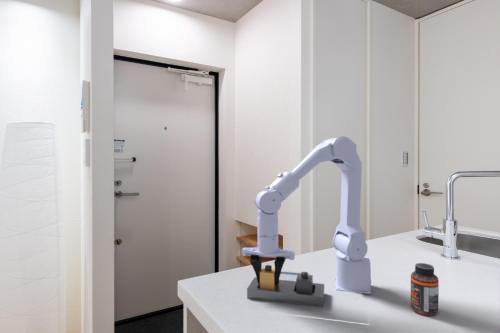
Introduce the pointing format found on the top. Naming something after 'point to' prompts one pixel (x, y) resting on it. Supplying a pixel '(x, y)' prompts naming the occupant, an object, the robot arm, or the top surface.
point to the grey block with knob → (304, 283)
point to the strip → (287, 293)
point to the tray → (289, 275)
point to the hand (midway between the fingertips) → (268, 283)
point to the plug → (267, 277)
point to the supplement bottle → (424, 290)
